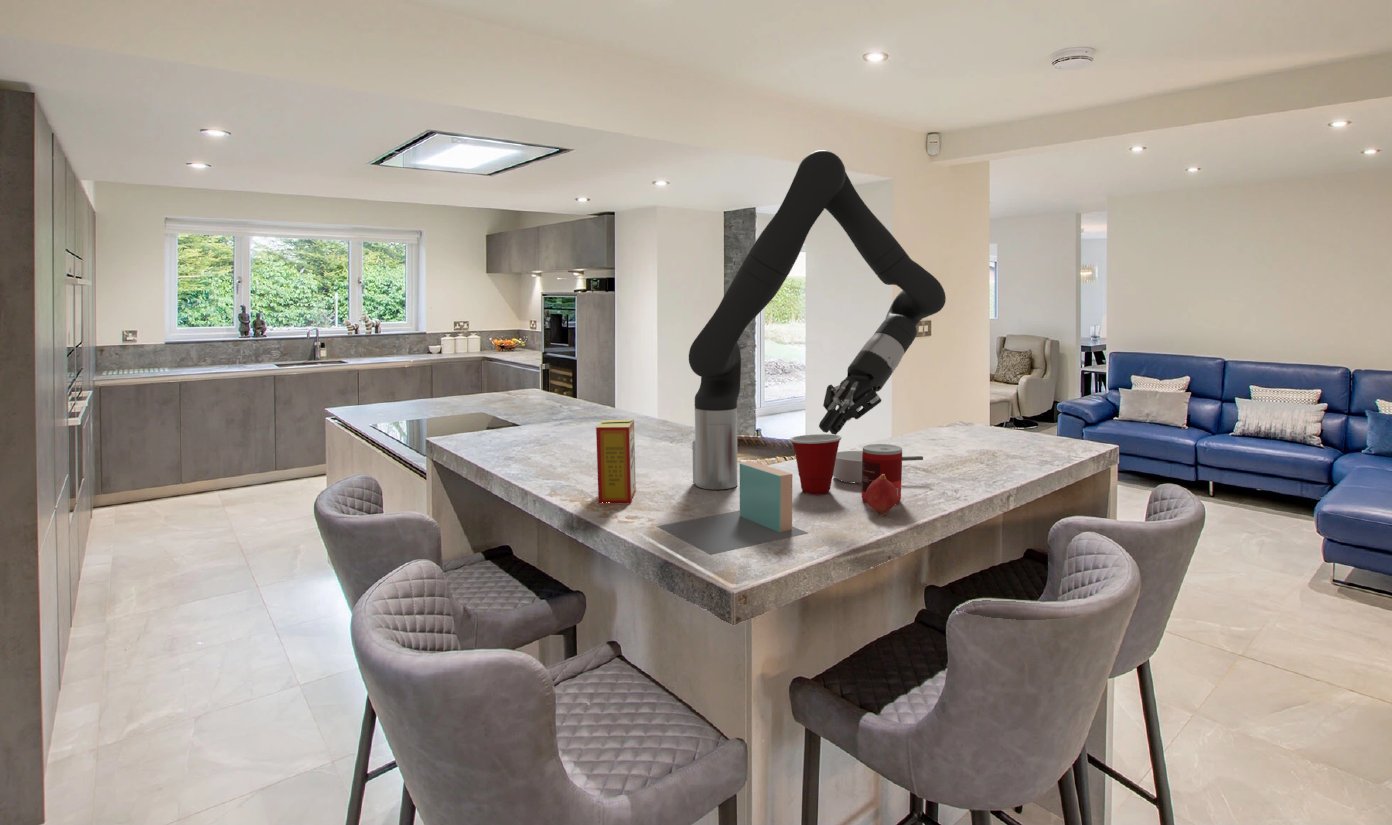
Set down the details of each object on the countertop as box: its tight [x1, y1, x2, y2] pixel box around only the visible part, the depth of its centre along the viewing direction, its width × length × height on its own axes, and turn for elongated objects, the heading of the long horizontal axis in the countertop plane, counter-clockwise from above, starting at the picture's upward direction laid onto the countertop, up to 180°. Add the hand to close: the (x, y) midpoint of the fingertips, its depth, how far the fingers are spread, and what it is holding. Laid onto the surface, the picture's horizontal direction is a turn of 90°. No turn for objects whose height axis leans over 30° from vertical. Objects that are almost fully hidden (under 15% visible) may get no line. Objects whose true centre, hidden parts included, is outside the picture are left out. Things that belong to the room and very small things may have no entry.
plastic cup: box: [789, 433, 842, 496], centre depth 158 cm, size 11×11×12 cm
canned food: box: [861, 443, 903, 505], centre depth 150 cm, size 8×8×11 cm
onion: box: [865, 474, 898, 516], centre depth 140 cm, size 6×6×8 cm
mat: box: [656, 509, 809, 556], centre depth 132 cm, size 18×20×1 cm
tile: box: [739, 461, 793, 532], centre depth 135 cm, size 12×3×10 cm, turn 32°
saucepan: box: [833, 449, 924, 484], centre depth 168 cm, size 12×20×6 cm, turn 81°
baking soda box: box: [595, 419, 637, 504], centre depth 155 cm, size 10×6×16 cm
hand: (827, 430), depth 141 cm, fingers closed
